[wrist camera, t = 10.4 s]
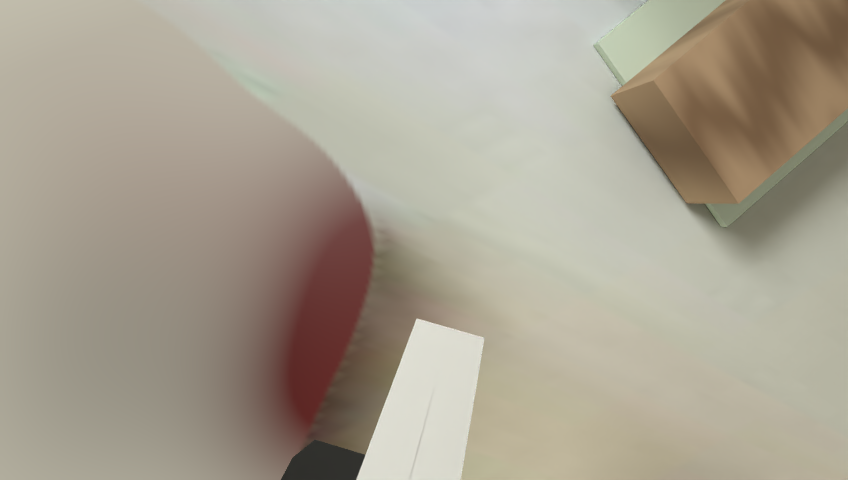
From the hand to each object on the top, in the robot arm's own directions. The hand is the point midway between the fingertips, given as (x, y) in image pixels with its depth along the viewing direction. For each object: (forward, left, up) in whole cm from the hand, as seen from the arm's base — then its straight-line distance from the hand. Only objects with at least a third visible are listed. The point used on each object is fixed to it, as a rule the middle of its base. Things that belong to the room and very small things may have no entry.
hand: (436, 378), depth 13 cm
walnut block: (+4, +15, -14) cm, 21 cm away
